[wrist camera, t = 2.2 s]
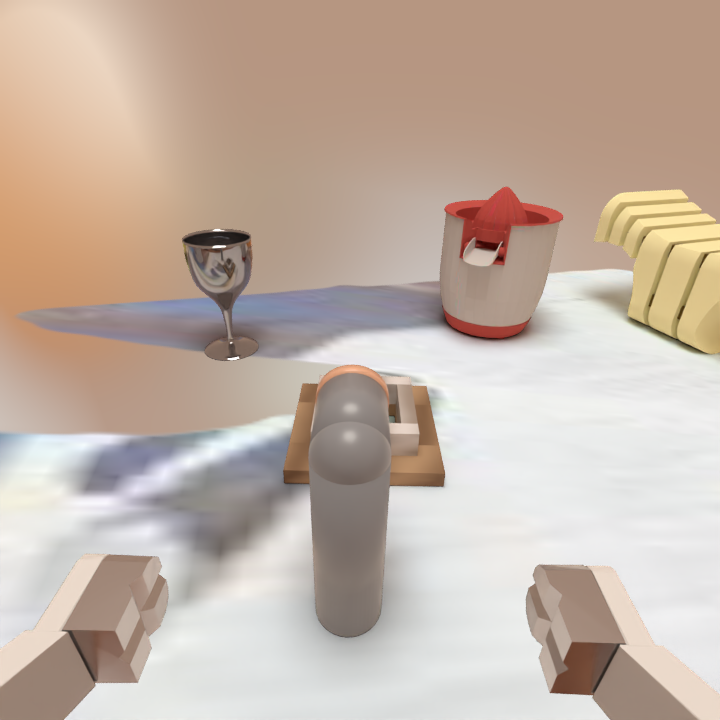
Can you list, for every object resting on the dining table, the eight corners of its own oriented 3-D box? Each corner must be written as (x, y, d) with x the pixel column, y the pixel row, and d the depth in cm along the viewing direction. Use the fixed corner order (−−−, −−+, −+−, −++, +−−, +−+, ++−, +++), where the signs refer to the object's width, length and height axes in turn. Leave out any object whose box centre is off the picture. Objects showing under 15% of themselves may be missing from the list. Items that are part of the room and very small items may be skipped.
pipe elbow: (383, 638, 29) (398, 449, 21) (310, 636, 29) (299, 447, 21) (380, 535, 36) (390, 365, 28) (321, 534, 36) (315, 364, 28)
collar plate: (284, 483, 40) (281, 447, 38) (303, 394, 52) (301, 364, 50) (443, 486, 40) (448, 451, 38) (425, 397, 52) (428, 367, 50)
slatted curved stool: (577, 300, 80) (606, 193, 71) (645, 290, 85) (680, 189, 76) (760, 390, 55) (838, 243, 46) (840, 368, 60) (925, 232, 51)
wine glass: (266, 335, 66) (256, 229, 58) (255, 362, 59) (243, 246, 51) (210, 334, 65) (194, 228, 58) (193, 361, 59) (171, 245, 51)
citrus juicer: (412, 335, 67) (424, 190, 57) (452, 297, 80) (467, 175, 70) (521, 362, 60) (556, 204, 50) (545, 316, 73) (576, 184, 63)
